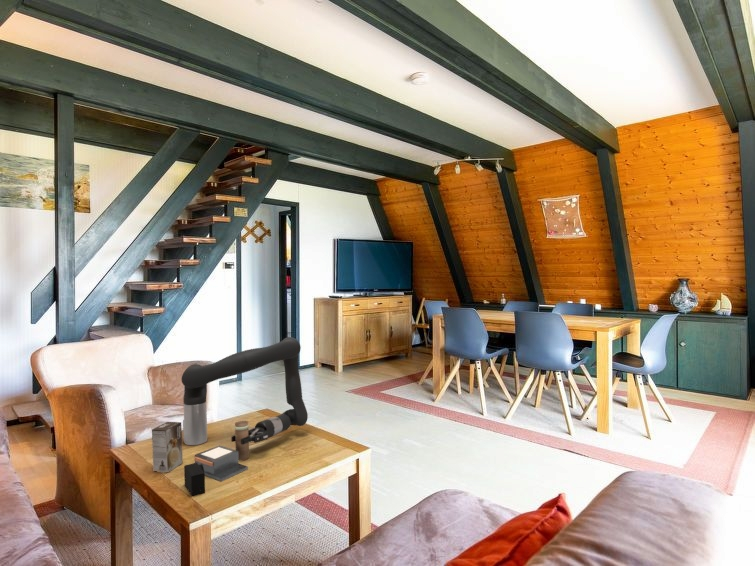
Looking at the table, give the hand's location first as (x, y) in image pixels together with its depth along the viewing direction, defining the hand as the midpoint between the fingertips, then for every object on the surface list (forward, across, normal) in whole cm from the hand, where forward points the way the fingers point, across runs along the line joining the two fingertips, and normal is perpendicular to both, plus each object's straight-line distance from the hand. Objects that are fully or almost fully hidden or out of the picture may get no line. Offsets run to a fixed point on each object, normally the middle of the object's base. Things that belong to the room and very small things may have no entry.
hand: (236, 440), depth 182 cm
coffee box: (+18, -17, +8) cm, 26 cm away
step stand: (+9, 0, +8) cm, 12 cm away
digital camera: (+23, +7, +8) cm, 26 cm away
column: (-3, 0, +8) cm, 8 cm away
